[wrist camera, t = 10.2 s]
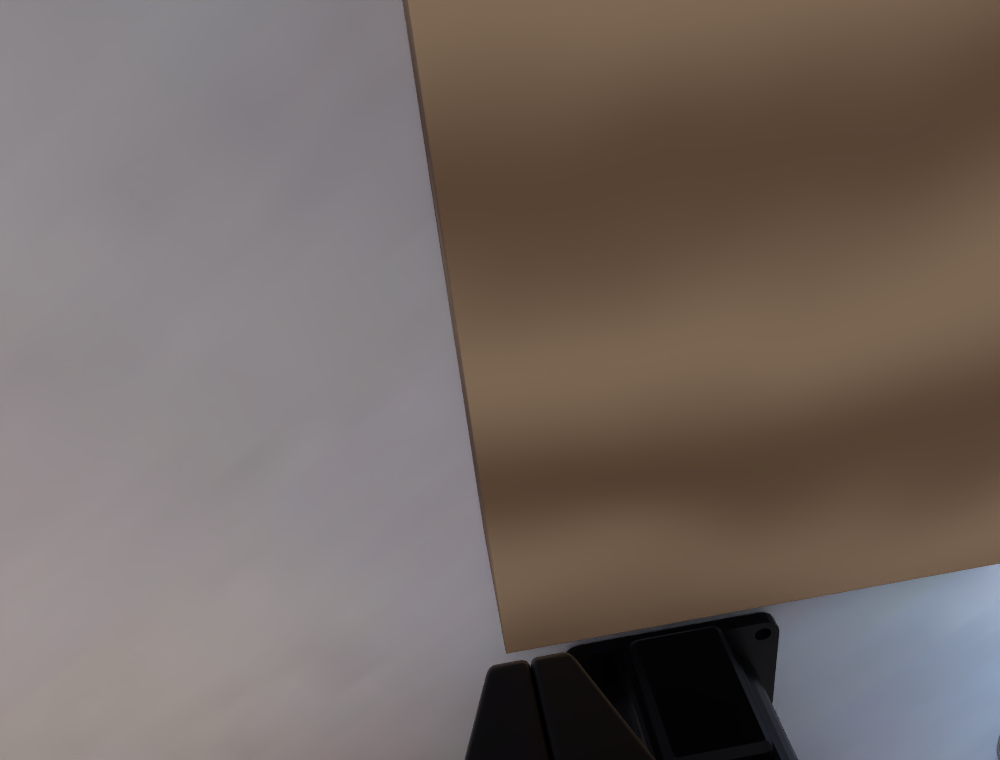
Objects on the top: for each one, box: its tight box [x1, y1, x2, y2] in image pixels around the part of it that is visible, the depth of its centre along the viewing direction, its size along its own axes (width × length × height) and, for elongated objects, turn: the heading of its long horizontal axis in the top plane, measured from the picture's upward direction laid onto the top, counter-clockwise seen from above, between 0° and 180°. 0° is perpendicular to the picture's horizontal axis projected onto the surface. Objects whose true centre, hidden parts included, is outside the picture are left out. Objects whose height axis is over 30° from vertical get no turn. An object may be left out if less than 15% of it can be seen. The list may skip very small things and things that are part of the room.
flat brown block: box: [402, 0, 1000, 653], centre depth 17 cm, size 22×14×4 cm, turn 6°
